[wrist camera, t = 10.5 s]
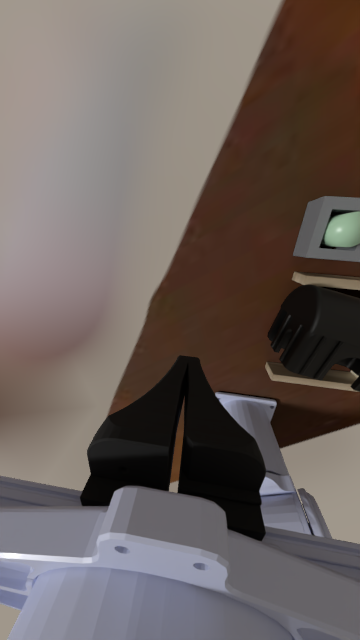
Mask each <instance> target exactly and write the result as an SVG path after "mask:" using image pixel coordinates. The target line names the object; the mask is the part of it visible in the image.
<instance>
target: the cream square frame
mask: <svg viewBox="0 0 360 640" xmlns="http://www.w3.org/2000/svg"><path fill="white" fill-rule="evenodd" d="M292 280H294V281H296V282H298V283H300V284H303V285H307V284H311V285H315V286H321V287H332V288H343V289H354V290H360V277H349V276H338V275H326V274H315V273H303V272H294V274H293V278H292ZM265 368H266V370H267V372H268V374H269V376H270V378H271V380H274V381H281V382H289V383H297V384H304V385H312V386H319V387H327V388H335V389H342V390H350V391H355V390H353V389H352V388H351V387H350V386H351V385H352V384H353V383H354V381H355V380H356V379H357V378H358V377H359V376H358V375H356V374H355V373H354V372H353V371H352V370H351V371H350V372H346V371H338V370H329V371H328V372H327V374H326V375H325V376H324V378H323V379H322V381H320V380H317V379H313V378H310V377H306V376H303V375H299V374H296V373H293V372H291V371H289V370H287V369H286V368H285V367H284V366H283V364H281V363H273V362H267V363H266V366H265ZM357 392H359V391H357Z"/></svg>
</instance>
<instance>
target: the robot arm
mask: <svg viewBox="0 0 360 640" xmlns="http://www.w3.org/2000/svg"><path fill="white" fill-rule="evenodd" d="M184 395H185V404H184V436H183V446H182V455H181V465H180V474H179V484H178V493H174V492H169V485H170V477H171V469H172V462H173V454H174V447H175V439H176V432H177V427H178V422H179V418H180V413H181V409H182V404H183V400H184ZM218 398H220V399H218ZM276 405H277V403H276V401H275V400H273V399H266V398H259V397H252V396H245V395H238V394H230V393H223V392H217V393H216V394H214V392H213V390H212V389H211V387H210V385H209V383H208V381H207V379H206V377H205V375H204V372H203V370H202V367H201V364H200V360H199V358H196V357H188V356H178V358H177V360H176V362H175V363H174V365H173V366H172V367H171V369H170V370H169V371H168V373H167V374H166V375H165V376H164V377H163V378H162V379H161V380H160V381H159V382H158V383H157V384H156V385H155V386H154V387H153V388H152V389H151V390H150V391H148V392H147V393H146V394H145V395H143V396H142V397H141V398H139V399H138V400H136V401H135V402H133V403H132V404H130V405H129V406H127V407H125V408H123V409H121V410H119V411H118V412H116V413H114V414H112V415H109V416H108V417H107V418H106V420H105V421H104V422H103V424H102V425H101V427H100V428H99V429H98V431H97V433H96V434H95V436H94V438H93V440H92V442H91V444H90V446H89V448H88V450H87V456H88V461H89V467H90V472H91V475H90V477H89V479H88V481H87V483H86V485H85V488H84V490H83V491H78V490H73V489H67V488H62V487H56V486H51V485H46V484H41V483H35V482H30V481H25V480H20V479H15V478H9V477H4V476H0V604H3V605H5V606H8V607H12V608H14V609H18V610H20V611H21V612H20V614H19V616H18V619H17V620H16V622H15V624H14V626H13V628H12V630H11V633H10V634H9V637H8V639H7V640H360V544H357V543H352V542H346V541H341V540H335V539H332V537H331V535H330V532H329V530H328V527H327V525H326V523H325V521H324V518H323V516H322V514H321V511H320V509H319V507H318V505H317V503H316V501H315V499H314V497H313V496H311V495H310V494H309V493H307V492H306V491H305V489H303V488H301V489H298V492H299V495H300V497H301V500H302V502H303V504H302V505H303V508H304V510H305V513H306V516H307V518H306V516H305V513H304V510H303V508H302V505H301V502H300V500H299V497H298V495H297V492H296V489H295V488H294V484H293V482H292V479H291V477H290V476H289V473H288V470H287V468H286V465H285V462H284V459H283V457H282V454H281V451H280V448H279V446H278V443H277V440H276V438H275V435H274V432H273V429H272V427H271V424H270V421H271V419H272V416H273V413H274V411H275V408H276ZM307 519H308V521H309V523H308V521H307Z"/></svg>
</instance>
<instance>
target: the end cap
mask: <svg viewBox="0 0 360 640" xmlns="http://www.w3.org/2000/svg"><path fill="white" fill-rule="evenodd" d="M268 338H269V340H271V341H272V343H271V347H272V348H273V350H274V352H278V353H279V351H280V349H281V348H283V349H285V350H284V352H283V353H282V355H281V357H280V361H281V362H282V364H283V366H284V367H285V368H286V369H287V370H289V371H291V372H293V373H296V374H299V375H303V376H306V377H310V378H313V379H317V380H320V381H322V379H323V378H324V376H325V375H326V374H327V372H328V371H329V370H330V368H331V367H332V366H333V365H334V364H339V365H342V366H345V367H348V368H349V369H351V370H352V371H353V372H354V373H355V374H356V375H358V376H359V377H358V378H357V379H356V380H355V381H354V383H353V384H352V385H351V386H350V387H351V388H352V389H353V390H355V391H359V392H360V298H357V297H354V296H350V295H347V294H343V293H340V292H336V291H333V290H329V289H326V288H322V287H319V286H315V285H311V284H307V285H302V286H300V287H298V288H296V289H295V290H294V291H292V292H291V293H290V294H289V295H288V296H287V298H286V299H285V300H284V302H283V304H282V305H281V309H280V311H279V313H278V315H277V317H276V319H275V321H274V322H273V324H272V326H271V328H270V330H269V332H268Z"/></svg>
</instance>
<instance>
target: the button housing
mask: <svg viewBox="0 0 360 640" xmlns="http://www.w3.org/2000/svg"><path fill="white" fill-rule="evenodd" d="M358 211H360V198H350V197H333V196H324V197H321V198H319V199H316V200H313V201H311V202H308V205H307V208H306V212H305V215H304V219H303V222H302V225H301V229H300V232H299V236H298V239H297V242H296V246H295V249H294V253H293V255H294V256H300V257H306V258H319V259H331V260H343V261H355V262H360V243H359V244H358V245H356V246H353V247H336V249H324V248H319V247H320V244H321V241H322V238H323V235H324V232H325V229H326V226H327V223H328V220H329V217H330V214H332V215H341V214H346V213H352V212H358Z"/></svg>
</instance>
